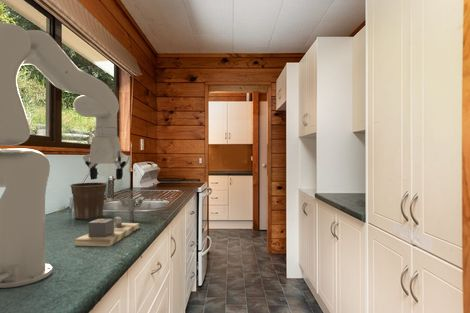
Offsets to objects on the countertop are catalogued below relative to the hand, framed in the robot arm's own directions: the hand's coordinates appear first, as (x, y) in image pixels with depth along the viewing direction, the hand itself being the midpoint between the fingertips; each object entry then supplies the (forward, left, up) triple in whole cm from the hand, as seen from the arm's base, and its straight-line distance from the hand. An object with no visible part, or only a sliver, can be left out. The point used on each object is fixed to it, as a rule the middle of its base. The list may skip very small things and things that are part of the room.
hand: (106, 179), depth 108 cm
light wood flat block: (+1, -1, -21) cm, 21 cm away
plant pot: (+32, +26, -21) cm, 46 cm away
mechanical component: (+26, +2, -21) cm, 33 cm away
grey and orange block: (-5, -1, -19) cm, 20 cm away
